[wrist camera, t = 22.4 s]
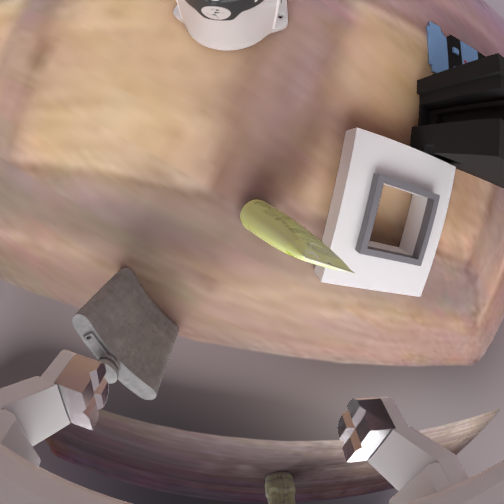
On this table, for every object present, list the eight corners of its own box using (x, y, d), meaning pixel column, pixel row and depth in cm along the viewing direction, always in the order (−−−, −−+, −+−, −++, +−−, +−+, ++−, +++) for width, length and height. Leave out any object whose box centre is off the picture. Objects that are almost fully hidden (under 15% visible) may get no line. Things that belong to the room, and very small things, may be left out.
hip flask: (182, 331, 52) (156, 408, 33) (166, 340, 53) (137, 415, 33) (127, 263, 48) (71, 319, 29) (113, 275, 48) (56, 332, 29)
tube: (240, 236, 45) (314, 299, 29) (231, 207, 43) (307, 258, 27) (272, 222, 47) (355, 274, 31) (264, 193, 44) (352, 233, 28)
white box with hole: (345, 130, 42) (362, 126, 35) (439, 165, 44) (462, 167, 37) (314, 270, 49) (324, 287, 42) (407, 286, 51) (425, 301, 44)
